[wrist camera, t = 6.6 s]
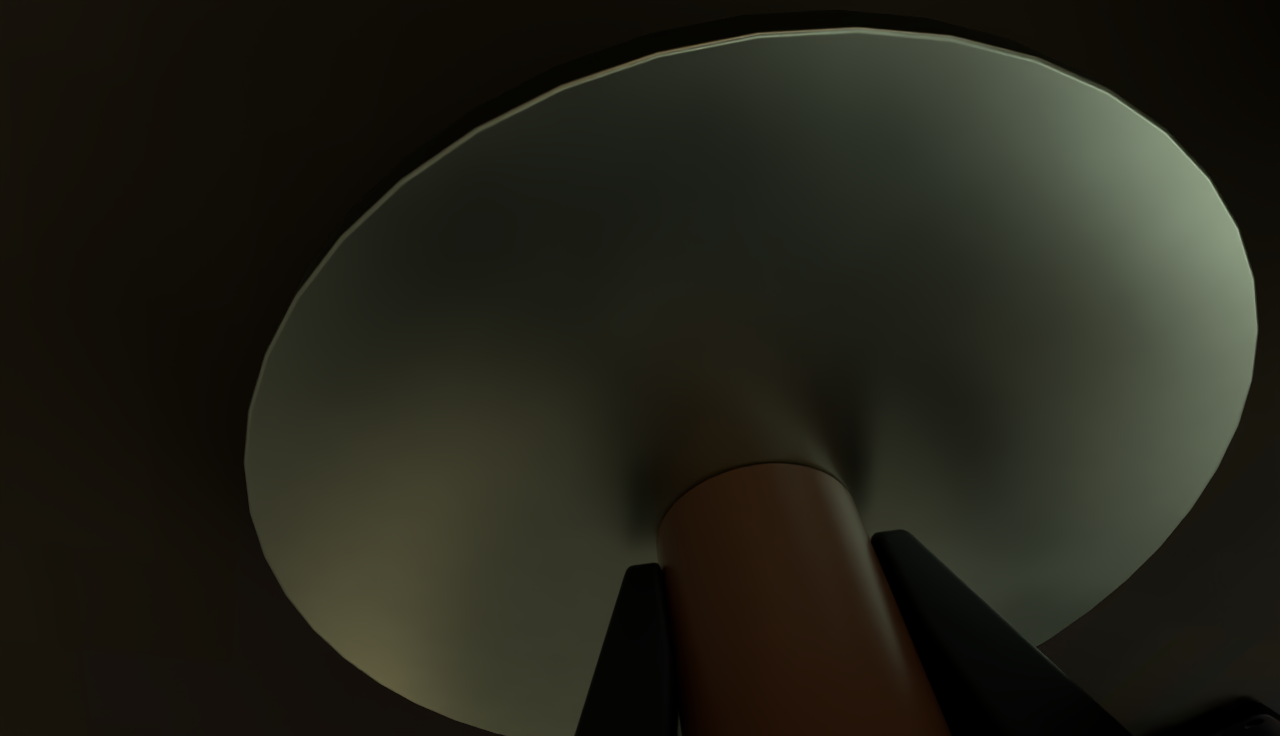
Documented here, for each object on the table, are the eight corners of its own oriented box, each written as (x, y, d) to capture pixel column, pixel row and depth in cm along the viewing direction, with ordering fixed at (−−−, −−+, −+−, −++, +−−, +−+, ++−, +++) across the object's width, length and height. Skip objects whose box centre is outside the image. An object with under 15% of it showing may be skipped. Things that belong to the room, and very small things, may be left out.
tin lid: (1334, 385, 11) (1817, 759, 7) (742, 744, 16) (808, 1075, 12) (722, -401, 5) (1363, -1079, 1) (127, 547, 10) (-143, 1039, 6)
